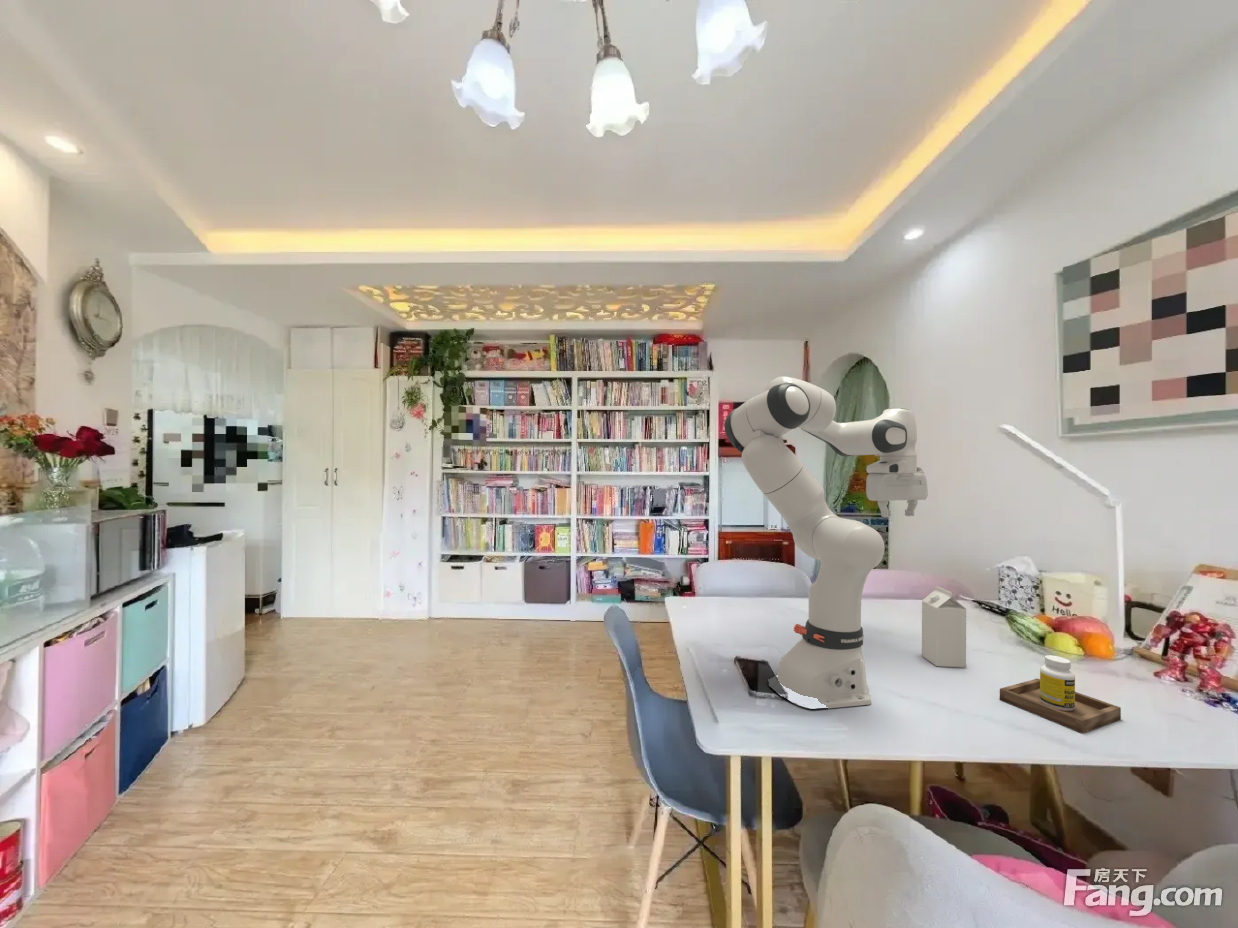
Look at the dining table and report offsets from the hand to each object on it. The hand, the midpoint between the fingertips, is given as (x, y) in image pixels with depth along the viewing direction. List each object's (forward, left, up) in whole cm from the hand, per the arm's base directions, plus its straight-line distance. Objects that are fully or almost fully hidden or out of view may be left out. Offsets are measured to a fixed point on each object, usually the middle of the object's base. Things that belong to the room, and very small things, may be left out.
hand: (897, 516), depth 131 cm
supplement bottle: (+2, -35, -36) cm, 51 cm away
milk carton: (+4, -10, -37) cm, 39 cm away
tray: (+2, -35, -37) cm, 51 cm away
